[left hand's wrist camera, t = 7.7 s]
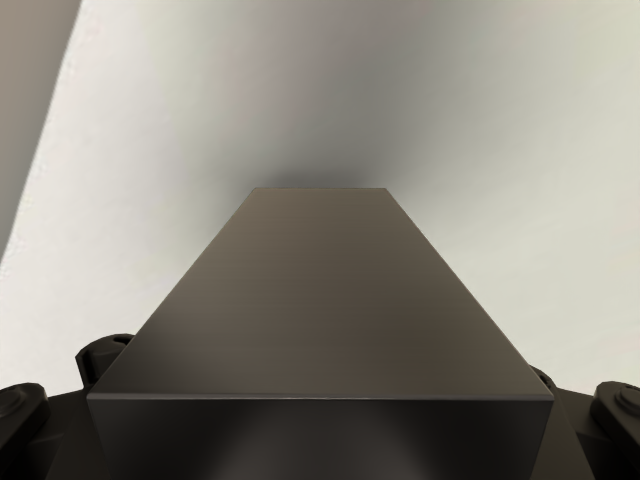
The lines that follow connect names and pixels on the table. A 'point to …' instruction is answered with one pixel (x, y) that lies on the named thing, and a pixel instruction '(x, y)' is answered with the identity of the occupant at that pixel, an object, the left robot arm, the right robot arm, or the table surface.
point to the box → (320, 358)
